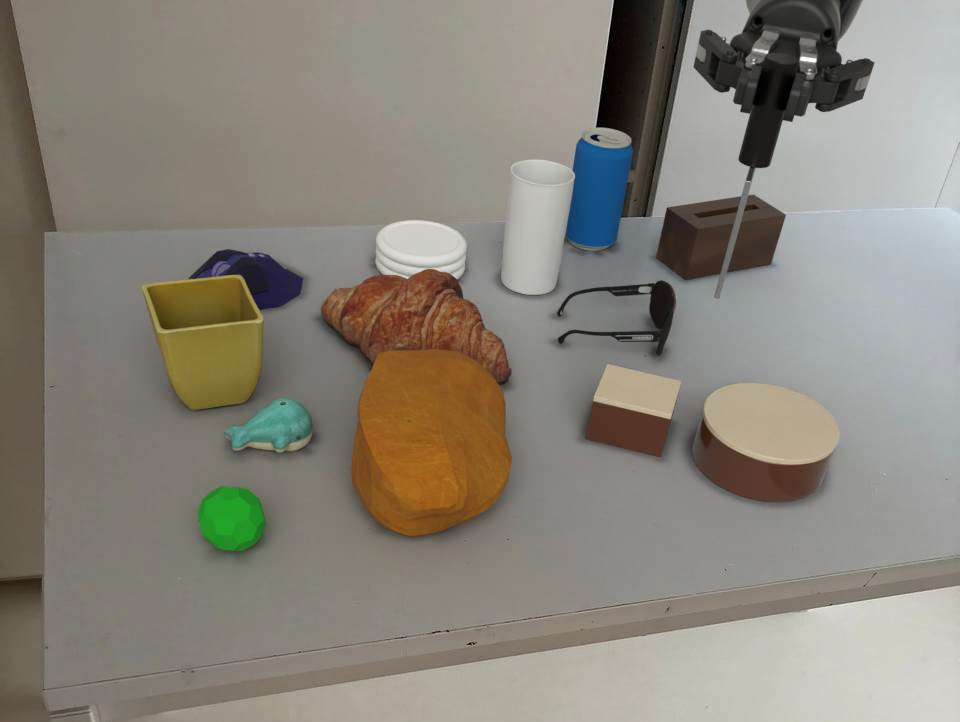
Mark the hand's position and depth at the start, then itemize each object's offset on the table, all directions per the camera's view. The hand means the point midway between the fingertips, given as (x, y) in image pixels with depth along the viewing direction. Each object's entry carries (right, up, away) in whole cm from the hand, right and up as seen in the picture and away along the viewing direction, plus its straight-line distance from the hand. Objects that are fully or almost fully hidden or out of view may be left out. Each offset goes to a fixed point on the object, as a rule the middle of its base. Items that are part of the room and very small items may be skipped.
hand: (770, 101), depth 69 cm
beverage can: (-7, +11, +52) cm, 53 cm away
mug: (-14, +4, +44) cm, 46 cm away
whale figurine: (-38, -20, +18) cm, 47 cm away
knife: (0, -8, +12) cm, 14 cm away
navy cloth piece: (-45, -1, +35) cm, 57 cm away
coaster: (-27, +4, +43) cm, 51 cm away
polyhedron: (-39, -30, +8) cm, 50 cm away
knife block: (+8, +8, +51) cm, 52 cm away
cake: (+5, -21, +22) cm, 31 cm away
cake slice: (-6, -18, +24) cm, 30 cm away
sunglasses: (-6, -5, +36) cm, 37 cm away
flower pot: (-44, -15, +22) cm, 52 cm away
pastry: (-27, -9, +30) cm, 41 cm away
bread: (-24, -24, +16) cm, 37 cm away
